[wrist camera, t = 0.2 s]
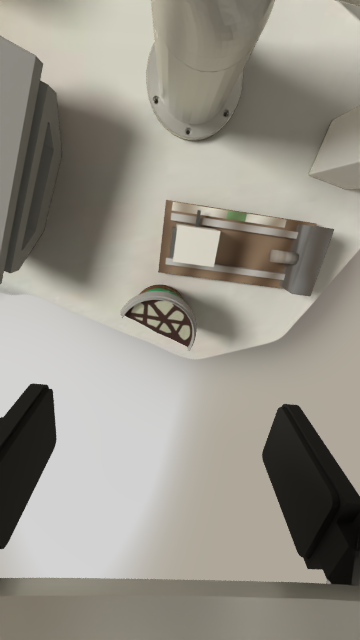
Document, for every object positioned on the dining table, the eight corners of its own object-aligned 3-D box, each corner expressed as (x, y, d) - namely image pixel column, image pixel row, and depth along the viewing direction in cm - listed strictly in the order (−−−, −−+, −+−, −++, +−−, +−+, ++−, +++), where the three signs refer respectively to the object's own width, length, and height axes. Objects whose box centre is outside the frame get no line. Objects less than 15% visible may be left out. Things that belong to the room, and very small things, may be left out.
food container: (205, 298, 46) (213, 320, 37) (187, 325, 48) (191, 352, 39) (144, 264, 43) (137, 279, 34) (128, 294, 45) (118, 316, 36)
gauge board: (158, 270, 44) (157, 279, 38) (166, 200, 40) (165, 198, 34) (291, 287, 46) (309, 299, 40) (311, 223, 42) (335, 225, 36)
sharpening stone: (14, 68, 33) (-54, 5, 23) (74, 100, 34) (35, 55, 24) (-15, 249, 42) (-73, 262, 32) (34, 269, 43) (-6, 286, 33)
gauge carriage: (168, 255, 41) (168, 261, 37) (174, 206, 38) (175, 205, 34) (208, 260, 42) (213, 267, 37) (217, 213, 39) (224, 213, 34)
